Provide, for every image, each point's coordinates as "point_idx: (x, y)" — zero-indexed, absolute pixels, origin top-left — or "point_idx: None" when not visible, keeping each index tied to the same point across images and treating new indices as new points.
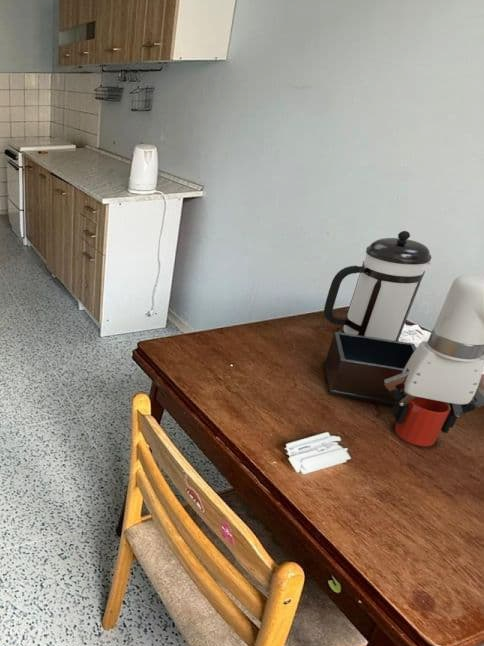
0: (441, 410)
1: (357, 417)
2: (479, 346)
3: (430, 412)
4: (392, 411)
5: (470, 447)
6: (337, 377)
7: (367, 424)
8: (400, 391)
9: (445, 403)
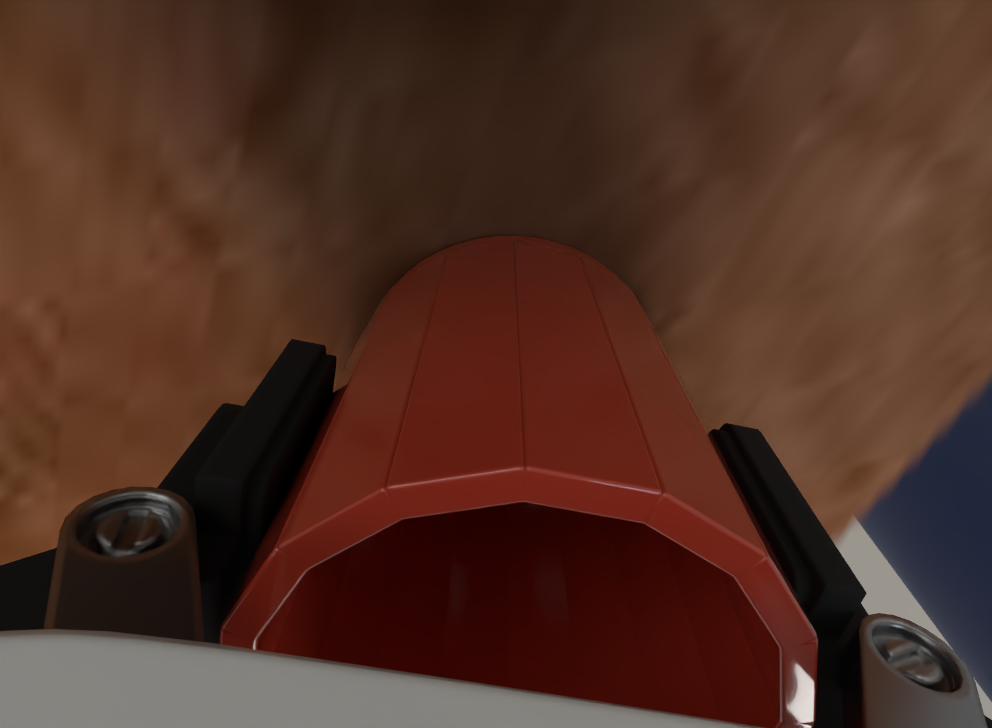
0: (729, 575)
1: (56, 187)
2: None
3: None
4: (223, 408)
5: (888, 455)
6: None
7: (140, 290)
8: (53, 606)
9: (782, 698)
